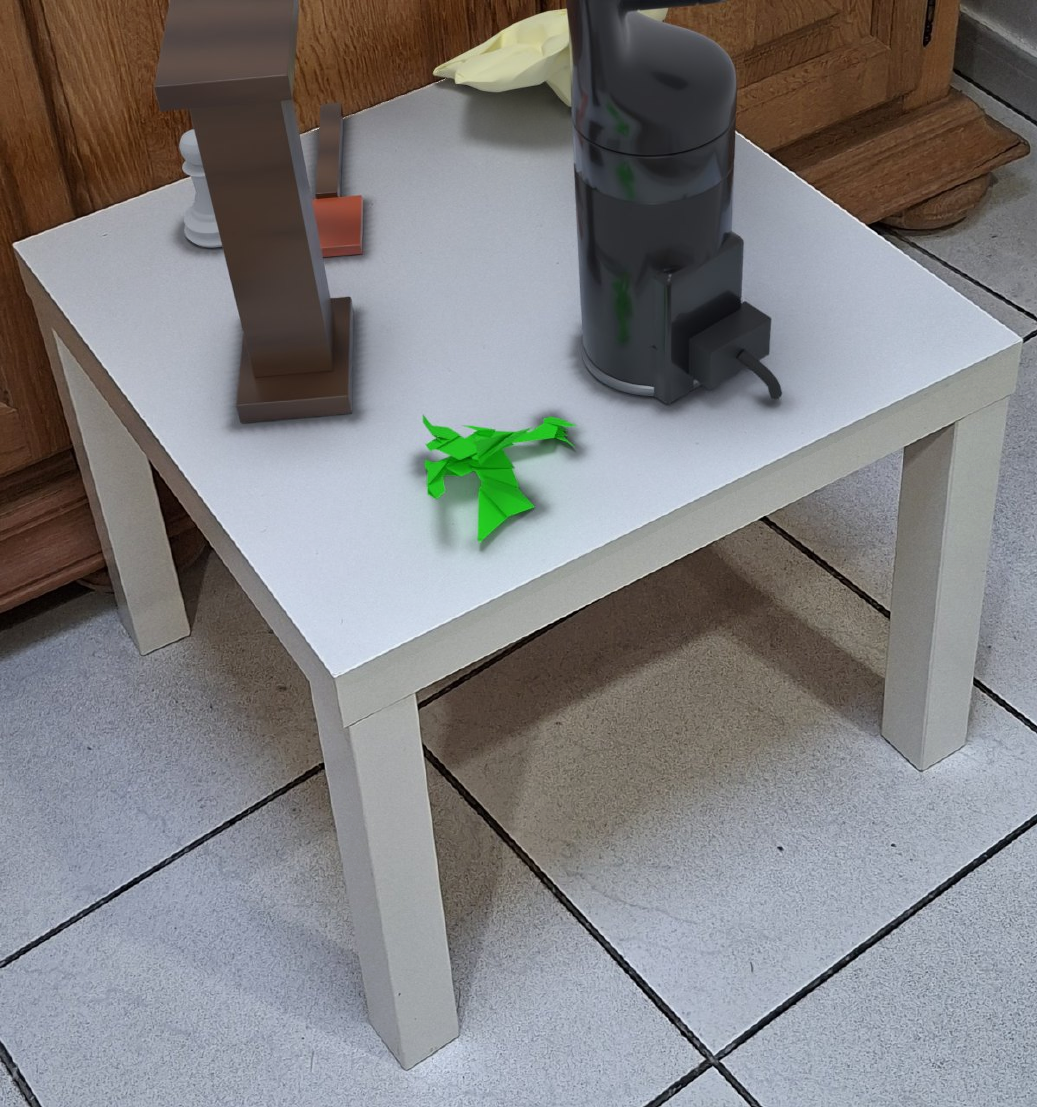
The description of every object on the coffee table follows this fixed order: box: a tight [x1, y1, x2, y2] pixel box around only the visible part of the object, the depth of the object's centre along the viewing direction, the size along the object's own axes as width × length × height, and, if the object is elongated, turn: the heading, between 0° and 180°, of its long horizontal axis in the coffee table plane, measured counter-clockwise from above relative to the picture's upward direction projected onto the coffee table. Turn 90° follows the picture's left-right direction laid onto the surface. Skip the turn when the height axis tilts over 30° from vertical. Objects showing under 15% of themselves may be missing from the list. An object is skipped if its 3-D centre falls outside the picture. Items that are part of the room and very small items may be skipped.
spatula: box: [312, 101, 364, 258], centre depth 119 cm, size 18×5×1 cm, turn 3°
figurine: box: [422, 414, 578, 543], centre depth 95 cm, size 6×12×9 cm
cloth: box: [432, 8, 669, 108], centre depth 123 cm, size 22×19×6 cm
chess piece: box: [178, 128, 223, 249], centre depth 113 cm, size 5×5×8 cm
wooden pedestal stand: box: [153, 0, 355, 424], centre depth 97 cm, size 10×7×24 cm
